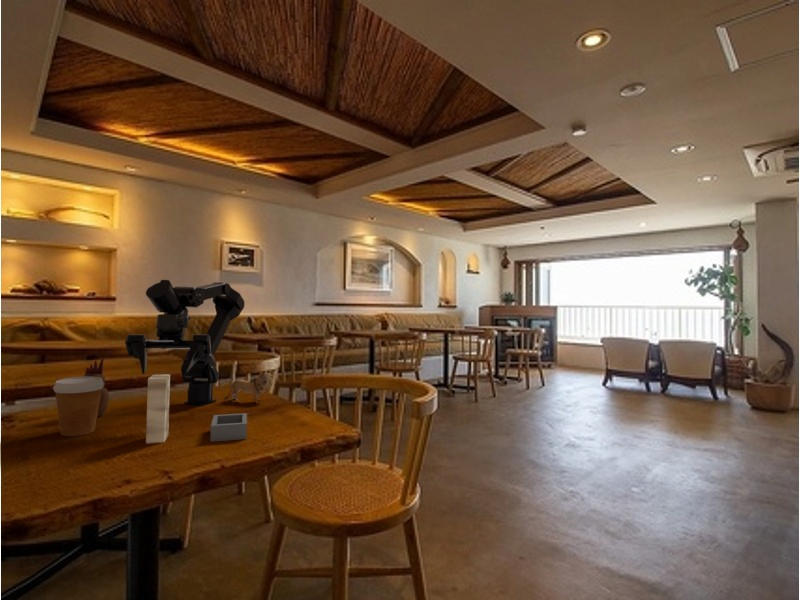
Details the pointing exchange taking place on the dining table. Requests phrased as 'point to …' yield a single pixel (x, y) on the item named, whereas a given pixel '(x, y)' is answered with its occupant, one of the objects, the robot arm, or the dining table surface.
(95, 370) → the wooden figurine
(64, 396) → the disposable coffee cup
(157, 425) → the slat
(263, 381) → the lion figurine
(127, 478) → the dining table surface
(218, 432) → the end cap
